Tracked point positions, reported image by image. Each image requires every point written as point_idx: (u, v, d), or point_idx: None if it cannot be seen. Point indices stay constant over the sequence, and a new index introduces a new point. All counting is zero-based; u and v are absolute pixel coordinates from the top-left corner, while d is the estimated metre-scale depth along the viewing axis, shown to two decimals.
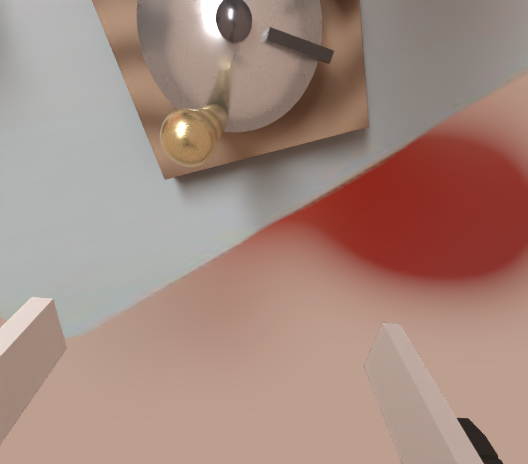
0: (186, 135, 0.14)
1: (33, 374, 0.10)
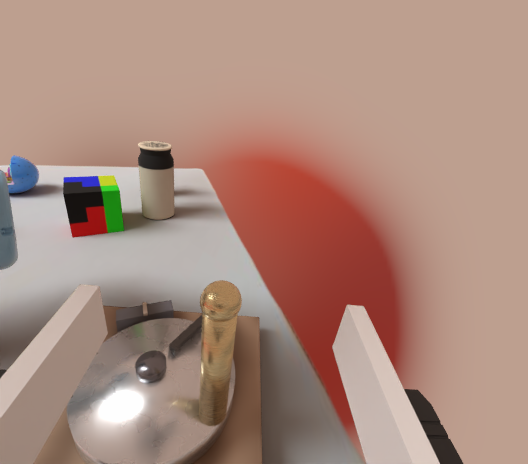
0: (218, 283, 0.20)
1: (84, 354, 0.11)
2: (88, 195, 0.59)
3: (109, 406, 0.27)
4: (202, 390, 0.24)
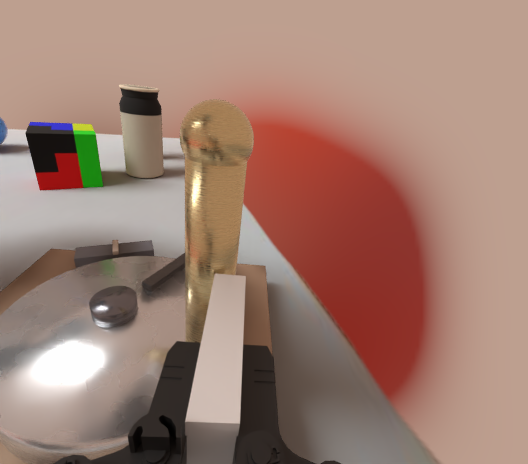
0: None
1: None
2: (56, 138, 0.49)
3: (45, 356, 0.17)
4: (189, 318, 0.15)
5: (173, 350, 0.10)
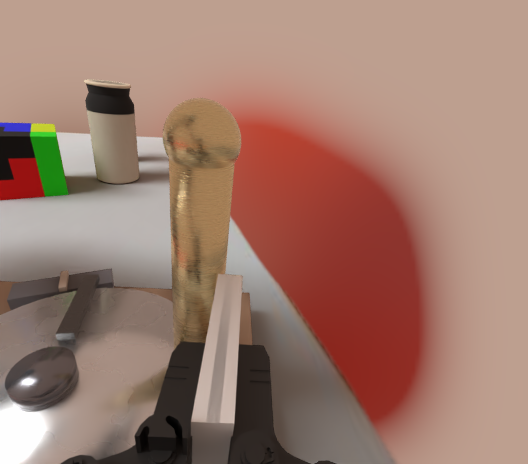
0: None
1: None
2: (9, 141, 0.43)
3: None
4: (190, 331, 0.15)
5: (177, 351, 0.10)
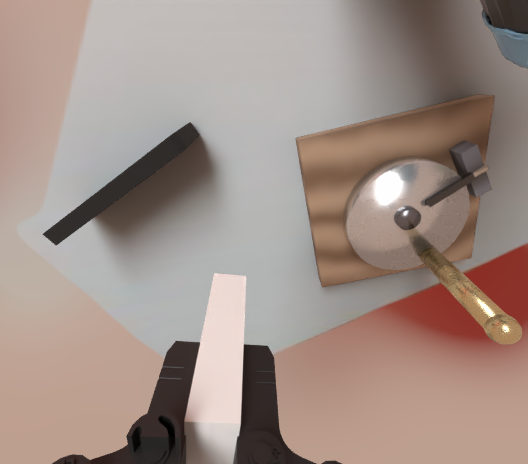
0: (513, 338, 0.28)
1: None
2: None
3: (373, 234, 0.39)
4: (437, 276, 0.37)
5: (172, 350, 0.10)
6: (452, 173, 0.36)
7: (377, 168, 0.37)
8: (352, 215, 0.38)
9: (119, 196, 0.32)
